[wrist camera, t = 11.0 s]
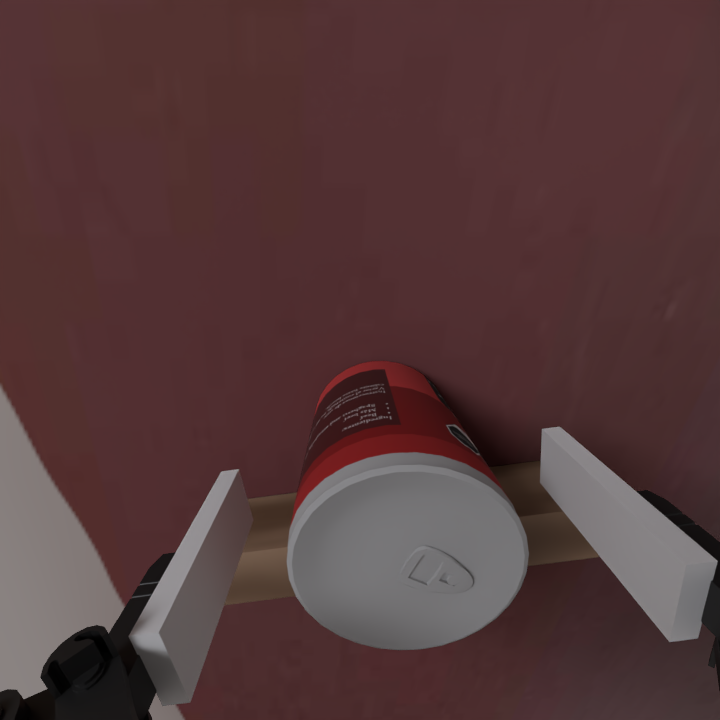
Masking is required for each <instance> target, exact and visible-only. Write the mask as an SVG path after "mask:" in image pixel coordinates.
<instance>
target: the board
mask: <svg viewBox="0 0 720 720" xmlns="http://www.w3.org/2000/svg"><path fill="white" fill-rule="evenodd" d="M540 467H541V461H533V462H525V463H518V464H510V465H503V466H495V467H489V468H490V469H491V471H492V472H493V474H494V475H495V477H496V478H497V480H498V481H499V483H500V485H501V487H502V489H503V490H504V492H505V493H506V495H507V496H508V498H509V499H510V501H511V502H512V504H513V506H514V508H515V511H516V513H517V515H518V517H519V519H520V521H521V524H522V526H523V528H524V531H525V533H526V536H527V543H528V551H529V557H528V565H527V566H533V565H541V564H548V563H556V562H564V561H572V560H580V559H587V558H595V557H600V556H599V555H598V553H597V552H596V551H595V550H594V549H593V547H592V546H591V545H590V544H589V542H588V541H587V540H586V539H585V537H584V536H583V535H582V534H581V533H580V531H579V530H578V529H577V528H576V526H575V525H574V524H573V523H572V521H571V520H570V519H569V518H568V517H567V515H566V514H565V513H564V512H563V510H562V509H561V508H560V507H559V505H558V504H557V503H556V502H555V501H554V499H553V498H552V497H551V496H550V494H549V493H548V492H547V491H546V489H545V488H544V487H543V486H542V485H541V483H540ZM296 495H297V493H290V494H282V495H275V496H267V497H259V498H252V499H248V503H249V506H250V510H251V513H252V517H253V523H252V526H251V529H250V531H249V534H248V537H247V540H246V543H245V546H244V549H243V552H242V554H241V557H240V560H239V563H238V566H237V569H236V572H235V575H234V578H233V580H232V583H231V586H230V589H229V592H228V595H227V598H226V601H225V604H224V605H229V604H237V603H245V602H252V601H260V600H268V599H276V598H284V597H291V596H296V595H295V593H294V590H293V588H292V585H291V583H290V581H289V575H288V568H287V553H288V538H289V530H290V525H291V520H292V516H293V510H294V504H295V499H296Z"/></svg>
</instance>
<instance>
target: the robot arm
mask: <svg viewBox="0 0 720 720" xmlns="http://www.w3.org/2000/svg"><path fill="white" fill-rule="evenodd" d="M540 483H541V485H542V486H543V487H544V488H545V489H546V491H547V492H548V493H549V494H550V496H551V497H552V498H553V499H554V501H555V502H556V503H557V504H558V505H559V507H560V508H561V509H562V510H563V512H564V513H565V514H566V515H567V517H568V518H569V519H570V520H571V521H572V523H573V524H574V525H575V526H576V528H577V529H578V530H579V531H580V533H581V534H582V535H583V536H584V537H585V539H586V540H587V541H588V542H589V544H590V545H591V546H592V547H593V549H594V550H595V551H596V552H597V553H598V555H599V556H600V557H601V558H602V560H603V561H604V562H605V563H606V565H607V566H608V567H609V568H610V569H611V571H612V572H613V573H614V574H615V576H616V577H617V578H618V579H619V581H620V582H621V583H622V584H623V585H624V587H625V588H626V589H627V590H628V592H629V593H630V594H631V595H632V597H633V598H634V599H635V600H636V601H637V603H638V604H639V605H640V606H641V608H642V609H643V610H644V611H645V613H646V614H647V615H648V616H649V617H650V619H651V620H652V621H653V622H654V624H655V625H656V626H657V627H658V628H659V630H660V631H661V632H662V633H663V635H664V636H665V637H666V638H667V640H668V641H669V642H674V641H682V640H690V639H698V636H699V632H700V628H701V625H702V623H703V624H704V625H705V626H706V627H707V628H708V629H709V630H710V631H711V632H712V633H713V634H714V635H715V636H716V638H715V641H714V645H713V648H712V652H711V655H710V659H709V664H708V666H710V667H713V668H714V667H715V664H716V667H717V675H718V683H719V690H720V542H719V541H717V540H716V539H715V538H714V537H712V536H711V535H710V534H709V533H707V532H706V531H705V530H704V529H702V528H701V527H700V526H699V525H695V523H694V521H692V520H691V519H690V518H688V517H687V516H686V515H683V514H682V512H681V511H680V510H678V509H677V508H676V507H675V506H673V505H672V504H671V503H670V502H668V501H667V500H666V499H664V498H662V497H660V496H658V495H656V494H654V493H652V492H650V491H648V490H644V491H635V490H634V489H633V488H631V487H630V486H629V485H628V484H627V483H625V482H624V481H623V480H622V479H621V478H620V477H618V476H617V475H616V474H615V473H614V472H613V471H611V470H610V469H609V468H608V467H607V466H605V465H604V464H603V463H602V462H601V461H600V460H598V459H597V458H596V457H595V456H594V455H593V454H591V453H590V452H589V451H588V450H587V449H585V448H584V447H583V446H582V445H581V444H580V443H578V442H577V441H576V440H575V439H574V438H573V437H571V436H570V435H569V434H568V433H567V432H565V431H564V430H563V429H562V428H561V427H554V428H546V429H542V441H541V467H540ZM252 523H253V517H252V513H251V510H250V506H249V503H248V499H247V496H246V492H245V489H244V485H243V482H242V478H241V475H240V471H239V469H237V470H230V471H222V472H221V473H220V475H219V477H218V478H217V480H216V482H215V484H214V486H213V487H212V489H211V491H210V493H209V494H208V496H207V498H206V500H205V502H204V503H203V505H202V507H201V509H200V510H199V512H198V514H197V516H196V517H195V519H194V521H193V523H192V525H191V526H190V528H189V530H188V532H187V533H186V535H185V537H184V539H183V541H182V542H181V544H180V546H179V548H178V549H177V551H176V553H168V554H163V555H162V556H161V557H160V558H159V559H158V560H157V561H156V562H155V563H154V564H153V565H152V566H151V567H150V568H149V569H148V571H147V573H146V574H145V576H144V578H143V579H142V581H141V582H140V586H138V587H137V589H136V590H135V592H134V594H133V595H132V599H130V600H129V602H128V603H127V605H126V607H125V608H124V610H123V611H122V613H121V615H120V617H119V618H118V620H117V621H116V623H115V624H114V626H113V628H112V629H111V631H110V633H109V634H108V632H107V630H106V629H105V627H102V626H98V625H96V626H91V627H87V628H85V629H83V630H81V631H79V632H77V633H75V634H74V635H72V636H71V637H70V638H68V639H67V640H65V641H64V642H63V643H62V644H61V645H60V646H59V647H58V648H57V649H56V650H55V651H54V652H53V653H52V654H51V656H50V657H49V659H48V660H47V662H46V663H45V665H44V667H43V670H42V673H41V679H42V681H43V682H44V683H45V685H46V687H47V688H48V689H47V690H44V691H42V692H40V693H38V694H35V695H33V696H31V697H28V698H26V699H23V698H22V696H21V695H20V694H19V692H18V691H17V690H5V691H2V692H0V720H152V717H151V715H150V713H149V711H148V710H149V707H150V705H151V703H152V701H153V698H154V696H155V694H156V693H157V695H158V697H159V699H160V701H161V704H162V705H163V706H166V705H174V704H182V703H189V702H191V699H192V696H193V693H194V690H195V687H196V684H197V681H198V679H199V676H200V673H201V670H202V667H203V664H204V661H205V658H206V655H207V653H208V650H209V647H210V644H211V641H212V638H213V635H214V632H215V629H216V627H217V624H218V621H219V618H220V615H221V612H222V609H223V606H224V604H225V601H226V598H227V595H228V592H229V589H230V586H231V583H232V580H233V578H234V575H235V572H236V569H237V566H238V563H239V560H240V557H241V554H242V552H243V549H244V546H245V543H246V540H247V537H248V534H249V531H250V529H251V526H252Z"/></svg>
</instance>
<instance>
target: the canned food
mask: <svg viewBox="0 0 720 720" xmlns="http://www.w3.org/2000/svg"><path fill="white" fill-rule="evenodd" d="M528 557H529V551H528V543H527V536H526V533H525V531H524V528H523V526H522V524H521V521H520V519H519V517H518V515H517V513H516V511H515V508H514V506H513V504H512V502H511V501H510V499H509V498H508V496H507V495H506V493H505V492H504V490H503V489H502V487H501V485H500V483H499V481H498V480H497V478H496V477H495V475H494V474H493V472H492V471H491V469H490V468H489V466H488V465H487V463H486V462H485V460H484V459H483V457H482V456H481V454H480V453H479V451H478V450H477V448H476V447H475V445H474V444H473V442H472V441H471V439H470V438H469V436H468V435H467V433H466V432H465V430H464V429H463V427H462V426H461V424H460V423H459V421H458V420H457V418H456V417H455V415H454V414H453V412H452V411H451V409H450V408H449V406H448V405H447V403H446V402H445V400H444V399H443V397H442V396H441V394H440V393H439V391H438V390H437V389H436V387H435V386H434V384H433V383H432V382H431V381H430V380H429V379H427V378H426V377H425V376H424V375H423V374H421V373H420V372H418V371H416V370H415V369H413V368H411V367H408V366H405V365H403V364H400V363H394V362H388V361H370V362H365V363H360V364H358V365H355V366H353V367H350V368H348V369H346V370H345V371H343V372H342V373H340V374H339V375H337V376H336V377H335V378H334V379H333V380H332V381H331V382H330V383H329V384H328V385H327V386H326V388H325V389H324V391H323V393H322V394H321V396H320V399H319V401H318V404H317V407H316V411H315V416H314V420H313V424H312V429H311V433H310V438H309V442H308V446H307V451H306V455H305V460H304V464H303V468H302V473H301V477H300V482H299V486H298V490H297V495H296V499H295V504H294V510H293V516H292V520H291V525H290V530H289V538H288V553H287V568H288V575H289V581H290V583H291V585H292V588H293V590H294V593H295V595H296V597H297V598H298V600H299V601H300V603H301V604H302V605H303V607H304V608H305V610H306V611H307V612H308V613H309V614H310V615H311V616H312V617H313V618H314V619H316V620H317V621H318V622H319V623H320V624H321V625H323V626H324V627H326V628H327V629H329V630H331V631H332V632H334V633H335V634H337V635H339V636H341V637H344V638H346V639H349V640H351V641H353V642H356V643H359V644H363V645H367V646H371V647H375V648H382V649H392V650H415V649H425V648H431V647H436V646H442V645H445V644H448V643H451V642H454V641H457V640H460V639H463V638H465V637H467V636H469V635H471V634H473V633H475V632H477V631H479V630H481V629H482V628H483V627H485V626H486V625H488V624H489V623H490V622H492V621H493V620H495V619H496V618H497V617H498V616H499V615H500V614H501V613H502V612H503V611H504V610H505V609H506V608H507V607H508V606H509V605H510V604H511V602H512V601H513V599H514V597H515V596H516V594H517V593H518V591H519V590H520V588H521V585H522V583H523V580H524V577H525V575H526V572H527V565H528Z"/></svg>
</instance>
